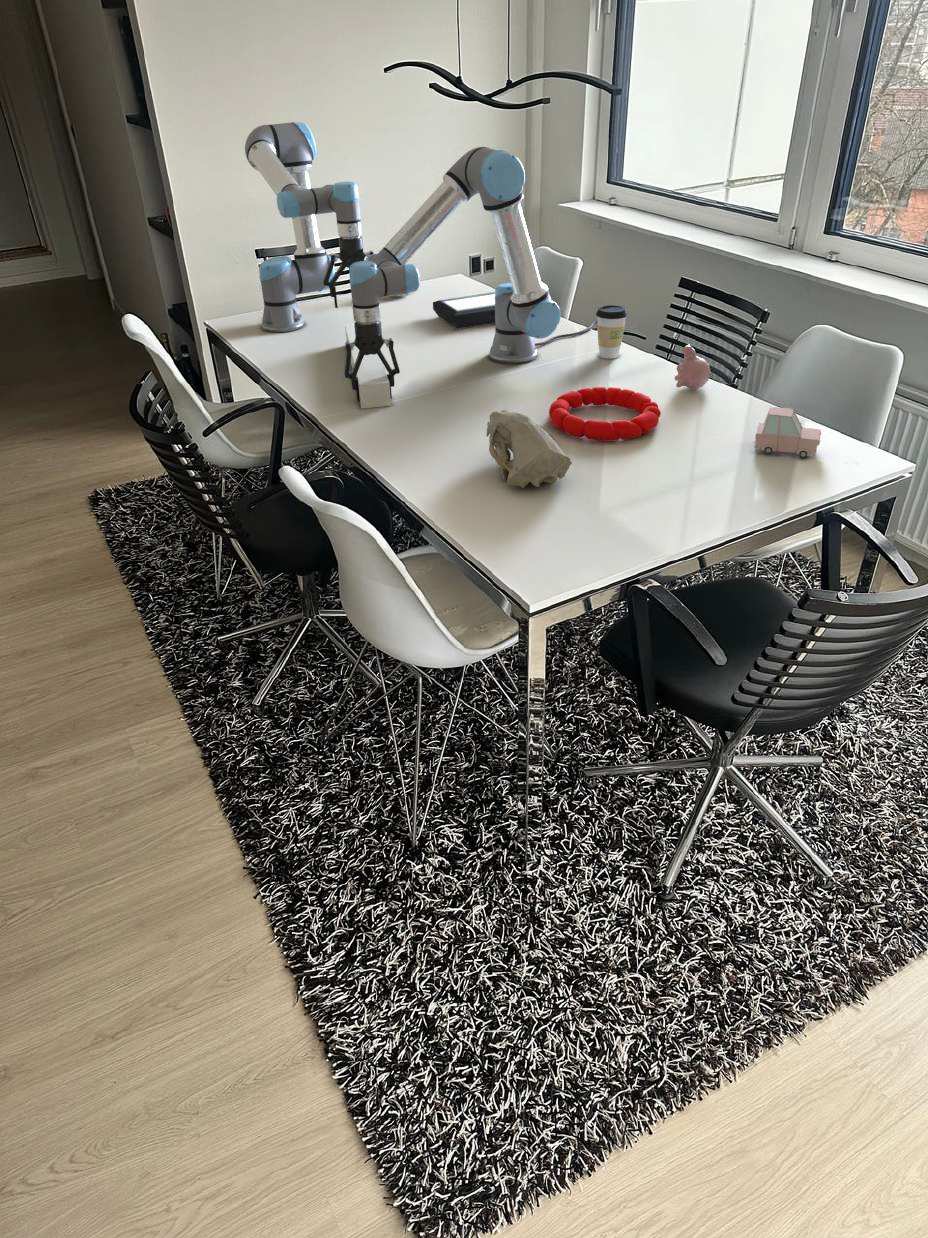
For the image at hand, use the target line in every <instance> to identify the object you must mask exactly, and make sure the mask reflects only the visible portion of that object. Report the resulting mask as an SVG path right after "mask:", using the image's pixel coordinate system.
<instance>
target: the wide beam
mask: <svg viewBox="0 0 928 1238" xmlns="http://www.w3.org/2000/svg"><path fill="white" fill-rule="evenodd" d="M344 331H345V338H346V342H354V340H355V327H354V323H351V324H344ZM358 353H359V349H358V348H357V347H356V346H354V347H353V350H351V362H350V366H351V368H352V370H353V367H354V364H355V361H356V359H357V356H358ZM387 374H388V373H387V370H386V368H385V366H384V364H383V363H382V361H381V359H380V358H379V356H378V355H377V354H376V355H372V354H370V355H364V357H363V359H362V362H361V365H360V367H359V370H358V372H357V375H356V377H357V378H358V385H359V395H360V402H359V403H360V408H361V409H372V408H382V407H391V406H392V401H391V400H392V399H391V398H390V385H389V380H388V377H387Z"/></svg>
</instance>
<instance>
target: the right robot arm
mask: <svg viewBox="0 0 928 1238" xmlns="http://www.w3.org/2000/svg"><path fill="white" fill-rule="evenodd" d="M525 173H526V172H525V169H524V166H523V163H522V162H521V160H520V159H519V158H518V157H517V156H515V154H512V153H511V152H509V151H507V150H502V149H494V148H490V147H487V146H477V147H474V148H472V149H470V150H468V151H467V152H466V153H463V155H462V156H461V157H460V158H459V159H458V160H456V161H455V163H453V165H452V166H451V167H450V168H449V169H448V170H447V171H446V172H445V173H444V175H442V182H441V183H440V184H439V186H437V187H436V189H435V190H434V191H433V192H432V193H431V194H430V196H428V197H427V199H426V200H424V202H423V204H422V205H420V207H418V209H417V210H416V211H415V212H414V213H413V214H412V215H411V217H410V218H409V219H408V220H407V221H406V222H405V223H404V224H403V225H402V226H401V227H400V229H398V231H397V232H396V233H395V234H394V235H393V236H392V237H391V239H390V240H389V241H388V242H387V243H386V244H385V245H384V246H383V248H381V250H380V251H378V253H374V254H372V255H370V256H368V257H367V256H366V257H365V259H364V260H363V261H360V262H355V263H353V264H352V265H351V266H350V268H349V287H350V293H351V294H350V295H351V303H352V316H353V321H354V323H353V324H354V327H355V340H354V342H347V341H346V342H345V343H344V346H345V350H346V351H345V361H344V362H345V363H344V371H343V376H344V378H345V379H349V380H350V383H351V389H352V391H355V394H356V402H357V403H360V395H359V385H358V378H357V377H356V375H357V372H358V370H359V367H360V365H361V362H362V359H363V357H364V355H370V354H372V355H376V354H377V355H378V356H379V358H380V359H381V361H382V363H383V364H384V368H385V371H386V372H388V373H386V374H387V377H388V380H389V385H390V398H391V400H393V397H392V388H393V387H395V376H396V375H398V374H401V369H400V367H399V364H398V360H397V357H396V353H395V350H394V344H395V343H394V340H393V338H392V337H389V338H384V337H383V332H382V331H383V330H382V329H383V328H382V321H381V308H380V304H381V303H380V298H385V297H391V296H392V297H394V296H393V295H400V294H408V293H410V294H411V293H415V292H417V291H418V290H419V288H420V283H421V277H420V272H419V269H418V267H417V266H416V265H415V264H413V263H408V261H409V260H410V259H411V258H412V257H413V256H414V255H415V254H416V253H417V252H418V251H419V250H420V248H421V247H422V246H423V245H424V244H425V243H426V242H427V241H428V240H429V239H430V238H431V237H432V235H434V233H435V232H436V231H437V230H438V229H439V228H440V227H441V226H442V224H444V222H445V221H446V220H447V219H448V218H449V217H450V216H451V215H452V213H454V212H455V211H456V209H458V207H459V206H460V205H461V204H462V203H465V204H466V203H468V202H469V201H470V200H471V199H472V197H474V196H476V195H478V194H479V196H480V197H479V198H480V201H481V204H482V207H483V210H484V211H486V212H487V213H489V214H490V215H491V219H492V222H493V226H494V228H495V233H496V236H497V239H498V243H499V246H500V250H501V253H502V256H503V259H504V263H505V267H506V270H507V273H508V277H509V280H510V282H506V283H500V284H498V285H497V286H496V287H495V289H494V292H495V297H494V298H495V323H494V328H495V329H494V337H493V339H492V340H493V341H492V345H491V346H490V349H489V358H490V359H491V360H492V361H494V362H497V363H501V364H509V365H510V364H511V365H512V364H516V365H517V364H525V363H528V362H532V361H534V360H535V359H537V356H538V355H537V354H538V353H537V352H538V351H537V347H539V346H543V345H546V344H549V343H550V342H552V341H554V340H557V339H562V338H567V337H573V336H574V337H575V336H578V335H582V334H584V333H587V332H588V331H590V330H591V329H592V328H593V326H595V325H597V323H598V319H596V320H595V321H592V322H591V323H590V325H589V326H588V327H587V328H585V329H582V330H579V331H576V332H572V333H565V334H559V335H556V336H553V337H551V338H549V336H550V335H552V334H553V333H554V332H555V331H556V330H557V328H558V325H559V324H560V321H561V316H562V315H561V314H562V313H561V308H560V306H559V305H558V304H557V303H556V302H555V301H554V300H552V297H551V294H550V291H549V287H548V284H546V283H544V282H542V281H541V276H540V274H539V273H540V272H539V270H538V266H537V262H536V257H535V254H534V250H533V247H532V244H531V239H530V236H529V231H528V228H527V224H526V220H525V217H524V213H523V209H522V206H521V202H522V201H523V199H524V196H525V195H524V191H523V189H524V185H525V183H526V174H525ZM408 295H409V294H408ZM589 329H590V330H589ZM547 337H548V339H547V340H545V341H541V342H537V343H535V341H534V338H535V339H540V340H541V339H546V338H547ZM384 344H385V347H387V348H388V351H389V354H390V357H391V360H392V364H393V368H392V367H391V365H390V364H389V362H388V360H387V358H386V357H385V355H384V353H383V351H382V350H381V349H382V347H383V345H384ZM354 346H356V347H357V348H358V349H359V353H358V356H357V359H356V361H355V364H354V367H353V369H352V370H351V350H353V347H354ZM350 371H351V372H350Z"/></svg>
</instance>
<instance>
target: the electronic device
mask: <svg viewBox="0 0 928 1238" xmlns="http://www.w3.org/2000/svg"><path fill="white" fill-rule="evenodd" d="M494 297H495V291H493V292H485V293H479V294H472V295H465V296H459V297H451V298H445V299H439V300H436V301H433V302H432V310H433V311H434V313H435V314H436V316H437V317H438V318H439V319H441V320H442V321H444V322H446V323H447V324H449V325H451V326H452V327H454V328H455V329H456V330H459V329H467V328H473V327H479V326H484V325H485V326H486V325H491V324H495V298H494Z"/></svg>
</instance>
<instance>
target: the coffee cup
mask: <svg viewBox="0 0 928 1238" xmlns="http://www.w3.org/2000/svg"><path fill="white" fill-rule="evenodd" d="M595 316H596V317H597V319H596V320H598V323H596V325H597V343H598V350H599V351H598V353H599V355H598V356H599V357H600V358H602V359H606V360H611V359H617V358H618V357H619V356H620V351H621V346H622V341H623V336H624V331H625V325H626V319H627V317H628V312H627V308H626V307H625V306H623V305H620V304H619V305H618V304H604V305H600V306H599V307H598V309H597V311H596V313H595Z"/></svg>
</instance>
